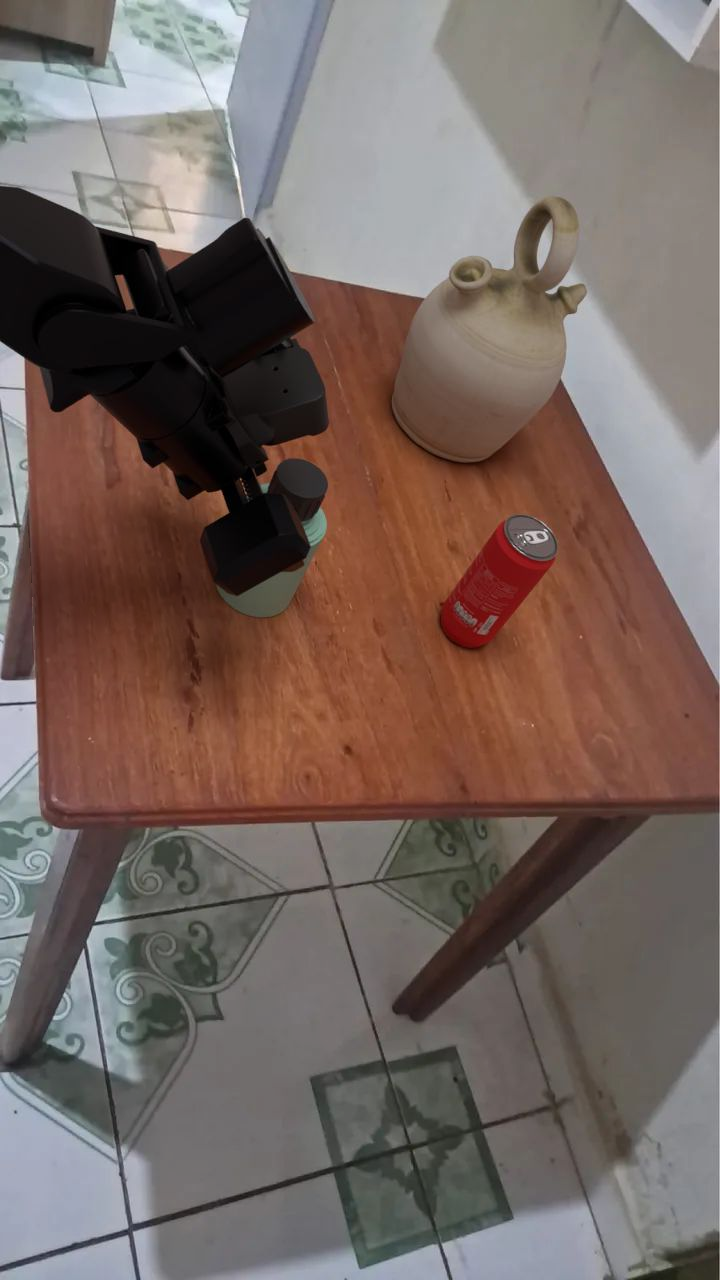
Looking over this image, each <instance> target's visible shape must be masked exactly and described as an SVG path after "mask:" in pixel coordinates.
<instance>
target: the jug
mask: <svg viewBox="0 0 720 1280" xmlns="http://www.w3.org/2000/svg"><path fill="white" fill-rule="evenodd" d="M550 221H551V222H552V236H551V243H550V247H549V250H548V254H547V257H546V258H545V261H544V264H543V265H542V266H541V268H540V269H539V264H538V249H539V246H540V242H541V238H542V236H543V233H544V231H545V230H546V227H547V226H548V224H549V223H550ZM579 234H580V224H579V218H578V214H577V211H576V208H575V207H574V206H573V204H571V202H569V201H568V200H567V199H566V198H563V197H560V196H555V195H553V196H546V197H544V198H542V199H540V200H538V201H537V202H536V203H534V204H533V205H532V207H530V208H529V210H528V211H527V213H526V214H525V215H524V217H523V219H522V221H521V223H520V225H519V228H518V229H517V233H516V235H515V240H514V246H513V266H512V267H511V268H509V269H503V268H496V267H493V265H492V263H491V262H490V261H489V260H488V259H487V258H485V257H483V256H480V255H468V256H465V257H461V258H459V259H458V260H457V261H456V262H455V263H454V264H452V266H451V267H450V269H449V273H448V277H447V278H446V279H444V280H443V281H441V282H440V283H439V284H438V285H436V286H435V287H434V288H433V289H432V290H431V291H430V292H429V293H428V294H427V296H426V297H425V298H424V299H423V300H422V302H421V303H420V305H419V307H418V308H417V310H416V312H415V314H414V316H413V318H412V321H411V323H410V326H409V329H408V331H407V335H406V340H405V343H404V347H403V351H402V355H401V359H400V364H399V367H398V371H397V374H396V377H395V381H394V385H393V392H392V396H391V409H392V413H393V415H394V418H395V420H396V422H397V424H398V426H399V427H400V428H401V429H402V431H403V432H404V433H406V435H407V436H408V438H410V440H412V441H413V442H414V443H415V444H417V445H418V446H420V447H421V448H422V449H424V450H425V451H426V452H429V453H430V454H432V455H434V456H437V457H439V458H442V459H444V460H448V461H451V462H456V463H462V464H463V463H464V464H465V463H467V464H468V463H469V464H470V463H477V462H481V461H484V460H486V459H488V458H489V457H491V456H492V455H493V454H495V453H496V452H497V451H499V450H500V449H501V448H502V447H503V446H504V445H505V444H507V443H508V442H509V441H510V440H511V439H512V438H513V437H514V436H516V434H517V433H518V432H519V431H520V430H521V429H523V428H524V427H525V426H526V425H527V424H528V423H529V422H530V421H531V420H532V418H534V417H535V416H536V415H537V414H538V413H539V412H540V410H541V409H542V408H543V407H544V406H545V405H546V404H547V402H548V401H549V400H550V399H551V397H552V396H553V395H554V392H555V391H556V388H557V386H558V385H559V383H560V380H561V378H562V375H563V372H564V368H565V365H566V359H567V347H568V346H567V335H566V330H565V325H564V324H565V323H564V322H565V321H564V320H565V318H566V317H567V316H569V315H574V314H576V313H577V312H578V306H579V305H580V304H581V303H582V301H584V299H585V298H586V296H587V294H588V290H587V286H586V284H584V283H576V284H572V285H569V286H564V285H559V284H561V282H562V281H563V280H564V279H565V277H566V276H567V274H568V272H569V271H570V269H571V266H572V264H573V262H574V261H575V260H574V259H575V256H576V254H577V250H578V244H579ZM557 286H558V287H557ZM556 287H557V289H556V291H555V292H554V293H548V292H549V291H551V290H553V289H554V288H556Z"/></svg>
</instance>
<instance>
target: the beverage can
mask: <svg viewBox="0 0 720 1280" xmlns="http://www.w3.org/2000/svg"><path fill="white" fill-rule="evenodd" d="M558 551H559V543H558V539H557V538H556V535H555V534H554V532H553V531H552V530H551V528H549V526H547V524H545V523H544V522H543V521H541V520H539V519H538V518H536V517H535V516H533V515H528V514H524V513H516V514H515V513H514V514H512V515H510V516H508V517H507V518H506V519H504V520H502V521H501V522H500V523H499V524H498V525H497V527H496V528H495V530H494V531H493V532H492V534H491V535H490V537H489V538H488V540H487V541H486V542H485V544H484V545H483V547H482V548H481V550H480V551H479V552H478V554H477V556H476V557H475V558H474V560H473V561H472V563H471V564H470V565H469V567H468V568H467V569H466V571H465V572H464V574H463V576H462V577H461V578H460V580H459V581H458V582H457V584H456V586H455V587H454V588H453V589H452V591H451V592H450V594H449V595H448V597H447V598H446V600H445V601H444V602H443V604H442V607H441V616H440V625H441V628H442V629H441V630H442V631H443V633H444V634H445V635H446V637H447V638H448V639H449V640H450V641H451V642H453V643H455V644H456V645H458V646H460V647H463V648H467V649H476V648H479V647H481V646H482V645H486V644H488V643H490V642H491V641H492V640H494V639H495V637H496V636H497V634H498V633H499V632H500V631H501V630H502V629H503V627H504V626H505V624H507V622H508V621H509V620H510V618H511V617H512V616H513V615H514V613H515V612H516V611H517V610H518V609H519V607H520V606H521V605H522V604H523V602H524V601H525V599H526V598H527V597H528V596H529V595H530V593H532V591H533V590H534V589H535V587H536V586H537V585H538V583H540V581H541V579H543V577H544V576H545V575H546V574H547V572H548V571H549V570H550V568H551V567H552V566H553V565H554V563H555V560H556V557H557V554H558Z"/></svg>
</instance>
